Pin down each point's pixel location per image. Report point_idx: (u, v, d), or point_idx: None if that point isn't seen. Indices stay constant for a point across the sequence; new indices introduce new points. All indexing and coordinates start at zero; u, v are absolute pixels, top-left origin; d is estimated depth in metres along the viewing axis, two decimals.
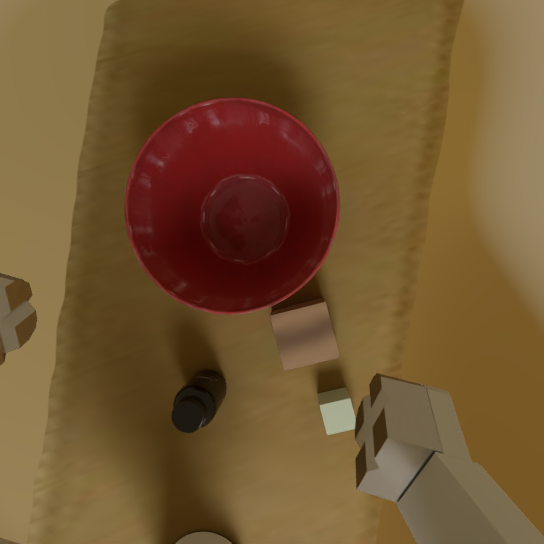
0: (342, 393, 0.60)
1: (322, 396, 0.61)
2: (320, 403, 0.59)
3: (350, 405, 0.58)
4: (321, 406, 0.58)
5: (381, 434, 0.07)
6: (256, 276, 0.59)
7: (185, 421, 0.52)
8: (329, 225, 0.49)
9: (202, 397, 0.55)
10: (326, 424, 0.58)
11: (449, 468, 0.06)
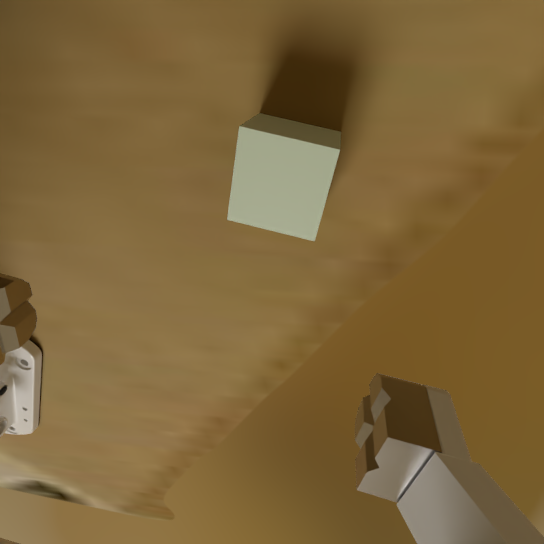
0: (324, 135, 0.20)
1: (265, 120, 0.20)
2: (245, 125, 0.18)
3: (328, 172, 0.18)
4: (243, 133, 0.18)
5: (381, 434, 0.07)
6: None
7: None
8: None
9: None
10: (236, 192, 0.19)
11: (449, 468, 0.06)
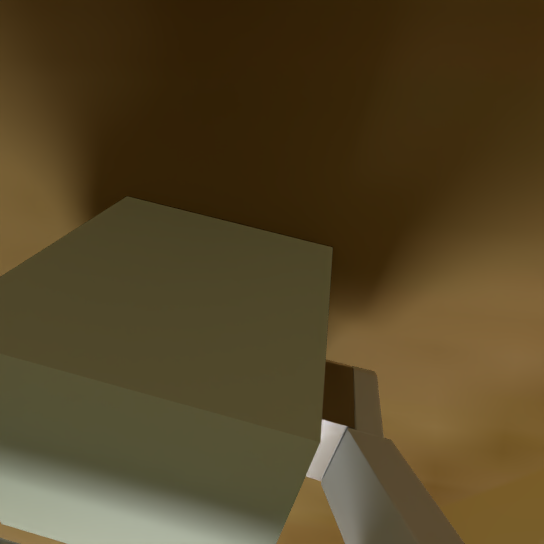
0: (278, 296, 0.06)
1: (111, 238, 0.07)
2: None
3: (279, 489, 0.05)
4: None
5: None
6: None
7: None
8: None
9: None
10: None
11: (357, 443, 0.06)
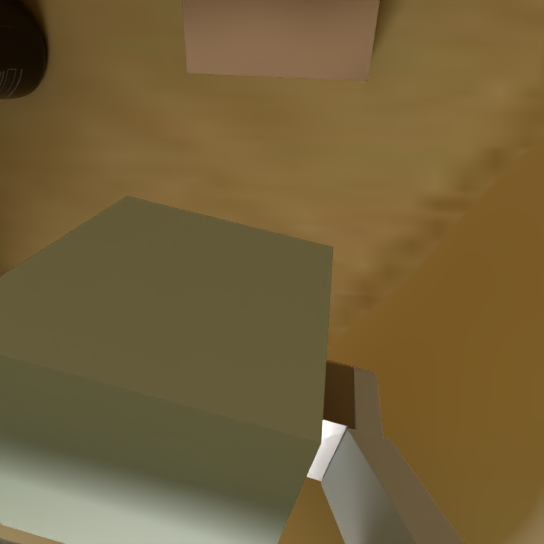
0: (278, 296, 0.06)
1: (111, 238, 0.07)
2: None
3: (280, 490, 0.05)
4: None
5: None
6: None
7: None
8: None
9: None
10: None
11: (357, 443, 0.06)
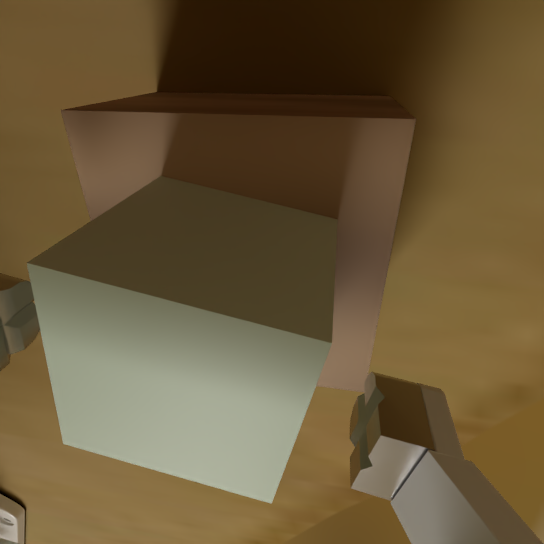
0: (294, 252, 0.08)
1: (154, 207, 0.08)
2: (62, 249, 0.06)
3: (299, 389, 0.06)
4: (43, 281, 0.06)
5: (375, 432, 0.07)
6: None
7: None
8: None
9: None
10: (68, 399, 0.08)
11: (441, 466, 0.06)
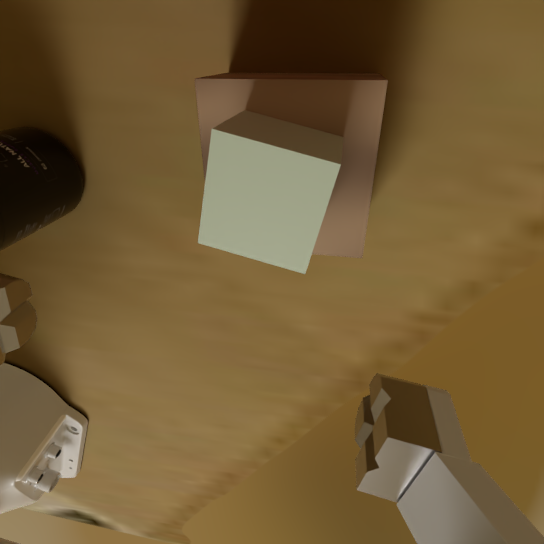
0: (321, 143, 0.16)
1: (249, 120, 0.16)
2: (221, 127, 0.14)
3: (325, 191, 0.14)
4: (216, 137, 0.14)
5: (381, 434, 0.07)
6: None
7: None
8: None
9: None
10: (208, 210, 0.15)
11: (449, 468, 0.06)
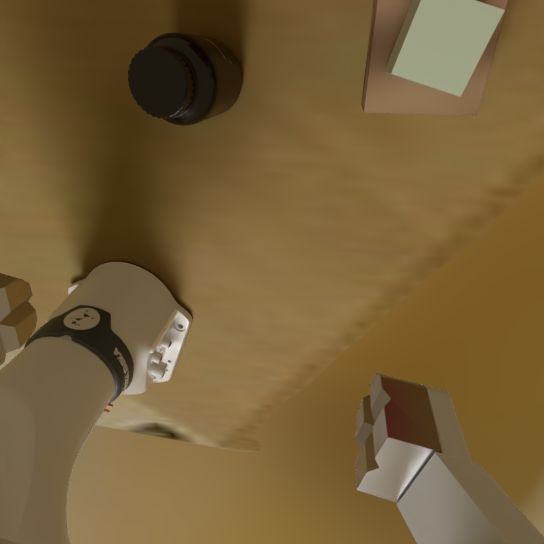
0: None
1: None
2: None
3: (490, 30, 0.23)
4: None
5: (381, 434, 0.07)
6: None
7: (152, 91, 0.27)
8: None
9: (197, 67, 0.28)
10: (406, 46, 0.24)
11: (449, 468, 0.06)
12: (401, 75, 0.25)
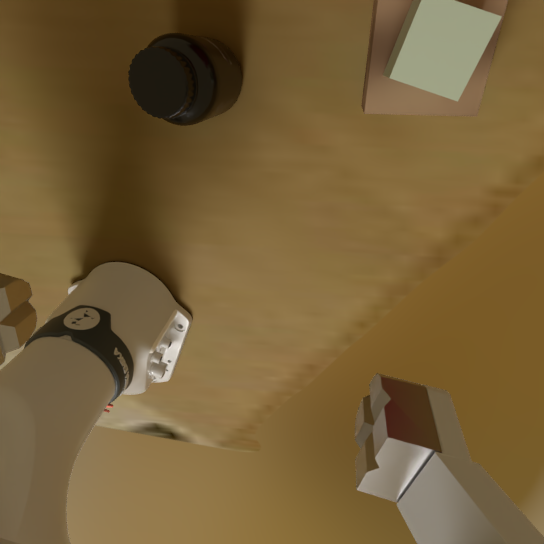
0: None
1: None
2: None
3: (487, 36, 0.23)
4: None
5: (381, 434, 0.07)
6: None
7: (152, 91, 0.27)
8: None
9: (197, 68, 0.28)
10: (404, 52, 0.24)
11: (449, 468, 0.06)
12: (399, 80, 0.25)
